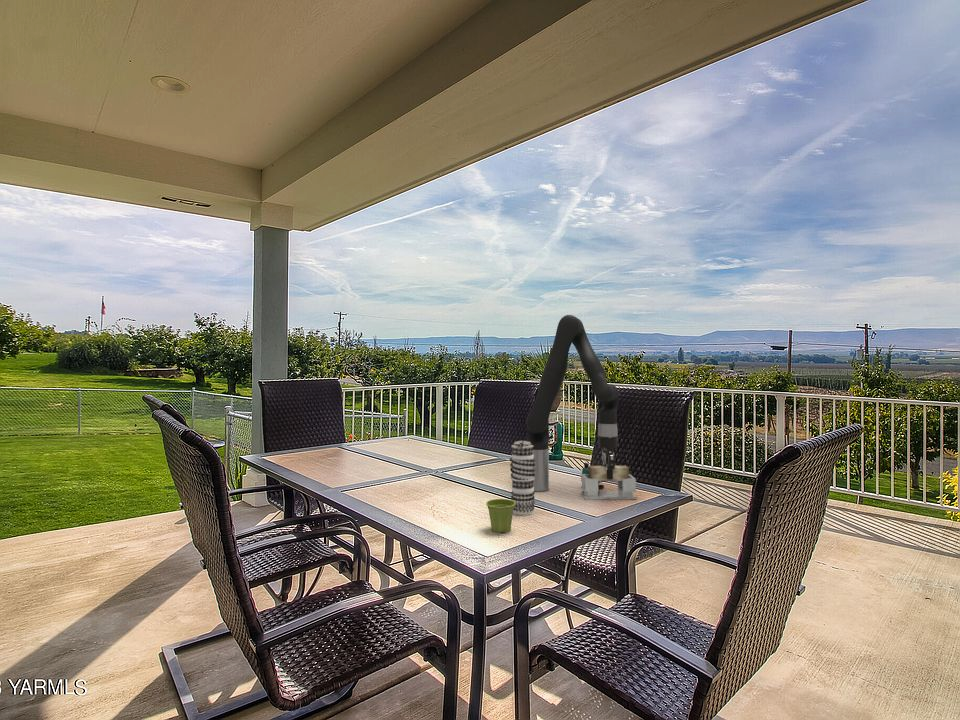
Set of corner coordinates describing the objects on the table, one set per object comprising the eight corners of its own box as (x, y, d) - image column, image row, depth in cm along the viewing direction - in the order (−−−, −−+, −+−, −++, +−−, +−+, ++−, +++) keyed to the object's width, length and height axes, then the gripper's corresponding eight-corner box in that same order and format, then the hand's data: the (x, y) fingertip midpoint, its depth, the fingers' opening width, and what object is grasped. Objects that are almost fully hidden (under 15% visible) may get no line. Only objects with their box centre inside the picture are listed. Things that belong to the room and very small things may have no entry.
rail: (590, 481, 195) (590, 468, 195) (588, 478, 200) (588, 465, 200) (629, 480, 195) (628, 467, 195) (626, 478, 199) (625, 465, 199)
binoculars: (609, 464, 212) (596, 465, 205) (608, 489, 211) (594, 491, 204) (592, 461, 219) (578, 462, 212) (590, 485, 218) (577, 487, 211)
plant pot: (503, 537, 151) (503, 508, 151) (480, 530, 157) (480, 503, 157) (521, 529, 158) (521, 502, 158) (498, 523, 164) (498, 497, 165)
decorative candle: (517, 516, 172) (516, 444, 172) (505, 509, 180) (505, 440, 180) (540, 513, 175) (539, 442, 175) (528, 506, 184) (527, 439, 184)
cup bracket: (584, 499, 193) (584, 478, 193) (581, 493, 201) (581, 474, 201) (636, 499, 192) (636, 478, 192) (630, 493, 201) (630, 474, 201)
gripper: (594, 432, 204) (595, 473, 204) (602, 437, 190) (602, 482, 190) (613, 432, 204) (613, 473, 204) (621, 437, 190) (622, 481, 190)
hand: (608, 477), depth 197 cm, fingers closed on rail, 4 cm apart
